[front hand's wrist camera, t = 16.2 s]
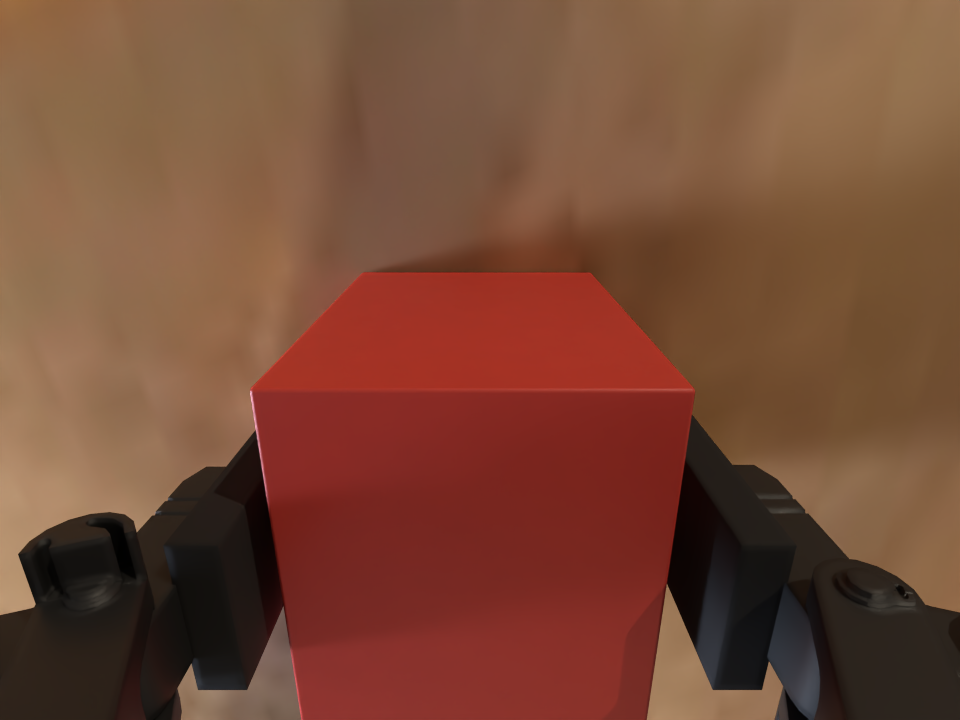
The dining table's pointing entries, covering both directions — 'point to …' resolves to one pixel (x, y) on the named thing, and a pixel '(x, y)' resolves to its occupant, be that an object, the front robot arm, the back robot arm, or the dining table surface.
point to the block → (473, 499)
